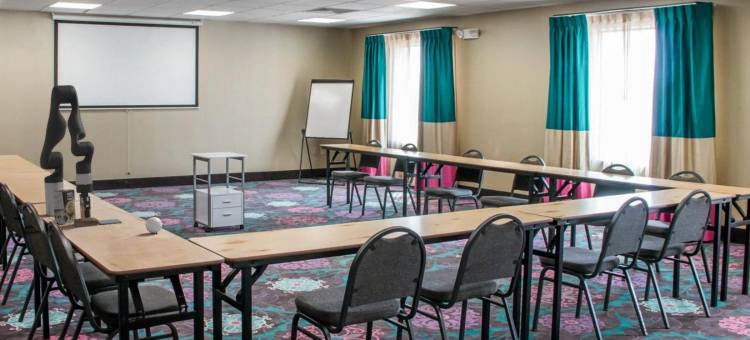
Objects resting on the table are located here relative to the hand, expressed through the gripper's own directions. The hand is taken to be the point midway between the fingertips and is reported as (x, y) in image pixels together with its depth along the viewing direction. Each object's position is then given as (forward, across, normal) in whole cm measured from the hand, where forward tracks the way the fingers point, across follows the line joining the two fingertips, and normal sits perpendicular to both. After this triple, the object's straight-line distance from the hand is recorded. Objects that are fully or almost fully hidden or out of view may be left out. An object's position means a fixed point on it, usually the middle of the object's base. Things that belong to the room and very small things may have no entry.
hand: (85, 216), depth 388 cm
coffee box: (+4, -12, -7) cm, 15 cm away
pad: (+4, 0, +11) cm, 12 cm away
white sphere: (+4, +40, +22) cm, 46 cm away
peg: (+4, 0, 0) cm, 4 cm away
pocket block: (+4, 0, 0) cm, 4 cm away
